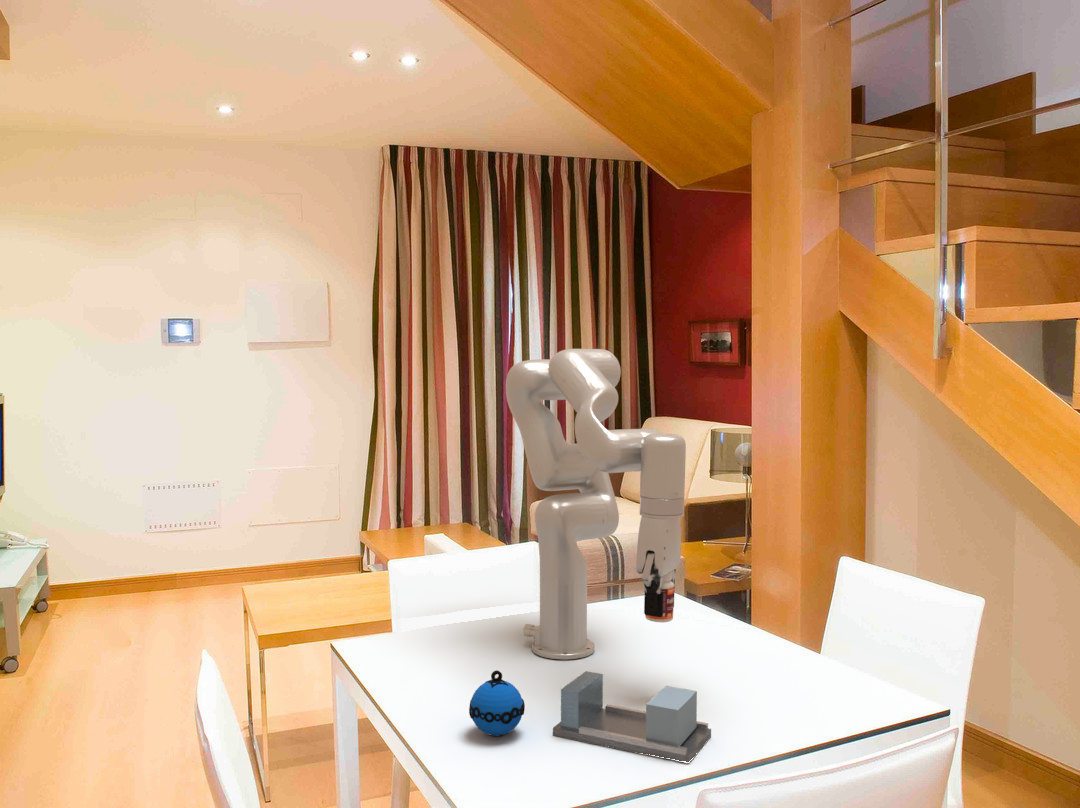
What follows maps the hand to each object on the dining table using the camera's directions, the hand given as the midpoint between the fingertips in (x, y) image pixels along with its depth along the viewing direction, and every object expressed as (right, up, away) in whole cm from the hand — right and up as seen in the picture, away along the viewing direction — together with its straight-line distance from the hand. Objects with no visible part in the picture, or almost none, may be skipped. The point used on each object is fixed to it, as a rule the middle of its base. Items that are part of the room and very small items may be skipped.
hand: (659, 610), depth 156 cm
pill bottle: (0, -2, 0) cm, 2 cm away
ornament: (-27, -16, -14) cm, 35 cm away
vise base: (-6, -16, -15) cm, 23 cm away
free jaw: (0, -15, -18) cm, 23 cm away
